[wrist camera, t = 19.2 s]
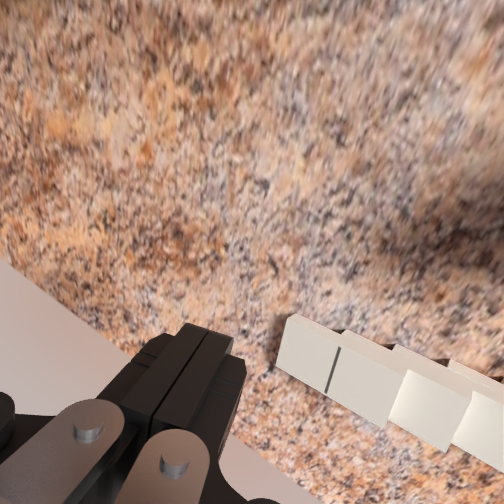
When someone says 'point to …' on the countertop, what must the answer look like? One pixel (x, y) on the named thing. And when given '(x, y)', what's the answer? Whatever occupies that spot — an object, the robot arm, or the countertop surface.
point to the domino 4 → (473, 415)
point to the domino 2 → (424, 399)
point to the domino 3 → (475, 376)
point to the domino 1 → (341, 368)
